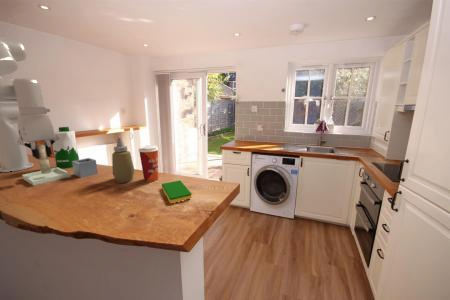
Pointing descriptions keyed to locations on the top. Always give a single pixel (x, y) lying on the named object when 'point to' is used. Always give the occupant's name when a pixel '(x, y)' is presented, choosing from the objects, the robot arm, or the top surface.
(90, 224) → the top surface
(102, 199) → the top surface
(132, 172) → the squeeze bottle
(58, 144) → the milk carton
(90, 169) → the holder
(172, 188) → the dish sponge
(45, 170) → the dowel
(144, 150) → the paper cup
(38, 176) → the tray
